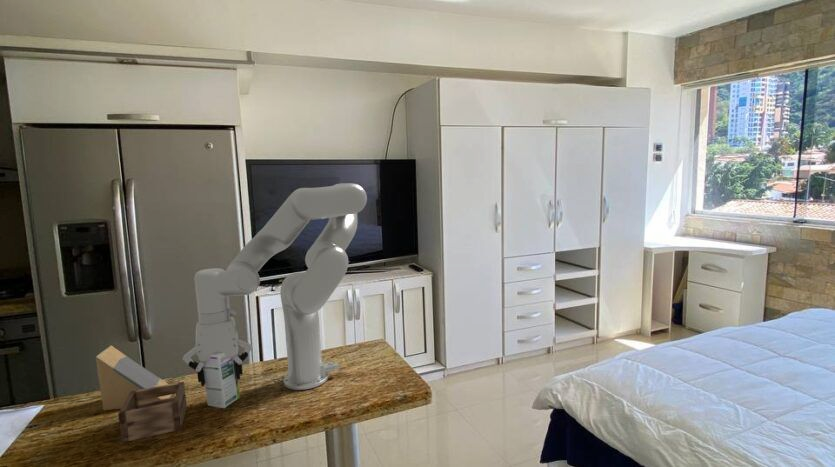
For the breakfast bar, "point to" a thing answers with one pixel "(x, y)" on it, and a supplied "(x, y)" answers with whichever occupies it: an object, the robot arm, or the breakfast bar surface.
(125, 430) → the crate
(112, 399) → the sandwich container
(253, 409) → the breakfast bar surface
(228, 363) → the syrup box
